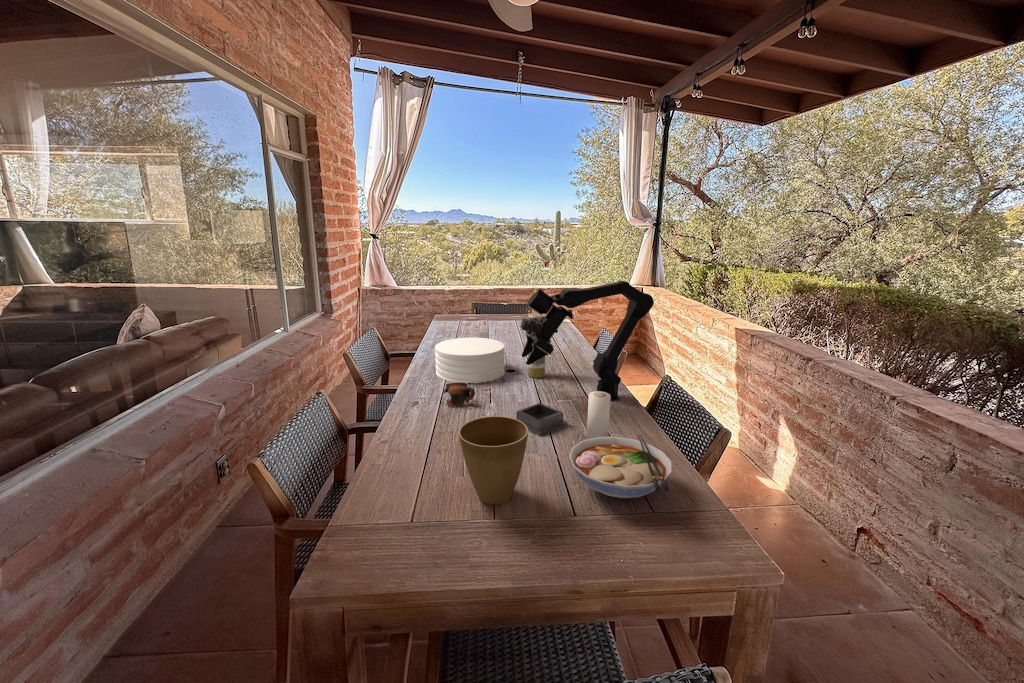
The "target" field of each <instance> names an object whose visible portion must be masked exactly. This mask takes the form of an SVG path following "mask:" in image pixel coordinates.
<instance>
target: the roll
mask: <svg viewBox="0 0 1024 683" xmlns="http://www.w3.org/2000/svg"><path fill="white" fill-rule="evenodd" d="M610 399H611V395H610V394H608V393H606V392H601V391H597V390H596V391H595V390H594V391H591V392H588V401H587V402H588V403H587V405H588V406H587V407H588V408H587V420H586V421H587V422H586V424H587V425H586V440H588V439H592V438H596V437H609V430H610V412H611V400H610Z"/></svg>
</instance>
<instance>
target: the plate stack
mask: <svg viewBox="0 0 1024 683" xmlns="http://www.w3.org/2000/svg"><path fill="white" fill-rule="evenodd" d="M434 351H435V352H434V356H435V374H436V375H437V376H438V377H440V378H442V379H444V380H447V381H452V382H461V383H474V384H481V382H483V383H488V382H487V381H489V382H492V380H493V381H496V380H498V379H500V378H502V377H503V376H504V374H505V344H504V343H503V342H501V341H499V340H496V339H492V338H487V337H486V338H485V337H459V338H452V339H447V340H443V341H440V342H438V343H437V344H435V346H434ZM437 376H436V377H437ZM501 376H502V377H501ZM438 377H437V378H438ZM440 378H439V379H440ZM495 379H496V380H495ZM444 380H443V381H444ZM447 381H446V382H447ZM452 382H451V383H452Z"/></svg>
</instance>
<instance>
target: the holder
mask: <svg viewBox="0 0 1024 683" xmlns="http://www.w3.org/2000/svg"><path fill="white" fill-rule="evenodd" d="M516 419H517V420H519V421H521V422H523V423H524V424H525V425H526V426H527V428H528V432H529V431H530V433H531V432H532V434H534V433H535V434H534V435H536V434H537V435H536V436H538V435H539V436H538V437H542V436H544V435H546V433H547V434H549V433H551V432H554V431H556V430H559V429H561V428H563V427H565V425H566V426H568V424H569V422H568V421H567V420H565V419H564V412H563V411H561V410H559V409H556V408H554V407H551V406H549V405H546V404H543V403H541V402H539V403H536V404H534V405H530V406H527V407H524V408H522V409H519V410H516ZM560 427H561V428H560ZM558 428H559V429H558ZM555 429H556V430H555ZM553 430H554V431H553ZM548 432H549V433H548ZM543 434H544V435H543ZM541 435H542V436H541Z"/></svg>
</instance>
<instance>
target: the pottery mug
mask: <svg viewBox="0 0 1024 683" xmlns="http://www.w3.org/2000/svg"><path fill="white" fill-rule="evenodd" d="M443 390H444V391H443V394H444V395H445V394H446V393H449V396H450V399H447V400H446V406H447V405H448V406H451V407H464V406H465V403H466V404H468V403H469V402H470V401H471V400H473V399H474V397H475V395H476V390H475V389H474V388H473V387H469V386H468V384H466V383H461V382H456V383H452V382H448V383H446V384H445V388H444V389H443ZM463 405H464V406H463Z"/></svg>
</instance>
